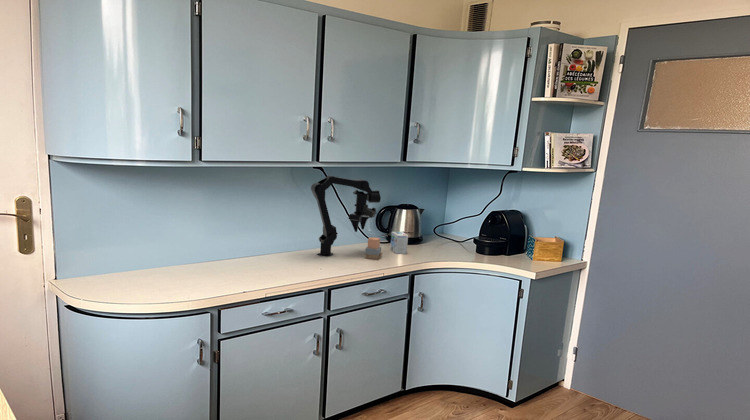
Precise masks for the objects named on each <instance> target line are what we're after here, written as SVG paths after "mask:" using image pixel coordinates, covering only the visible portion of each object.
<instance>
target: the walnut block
mask: <svg viewBox="0 0 750 420" xmlns="http://www.w3.org/2000/svg"><path fill="white" fill-rule="evenodd" d="M382 256H383V253H382V252H381V253H380V254H379V255H372V254H365V253H364V259H367V260H373V261H378V260H380V259H381V258H382Z"/></svg>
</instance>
